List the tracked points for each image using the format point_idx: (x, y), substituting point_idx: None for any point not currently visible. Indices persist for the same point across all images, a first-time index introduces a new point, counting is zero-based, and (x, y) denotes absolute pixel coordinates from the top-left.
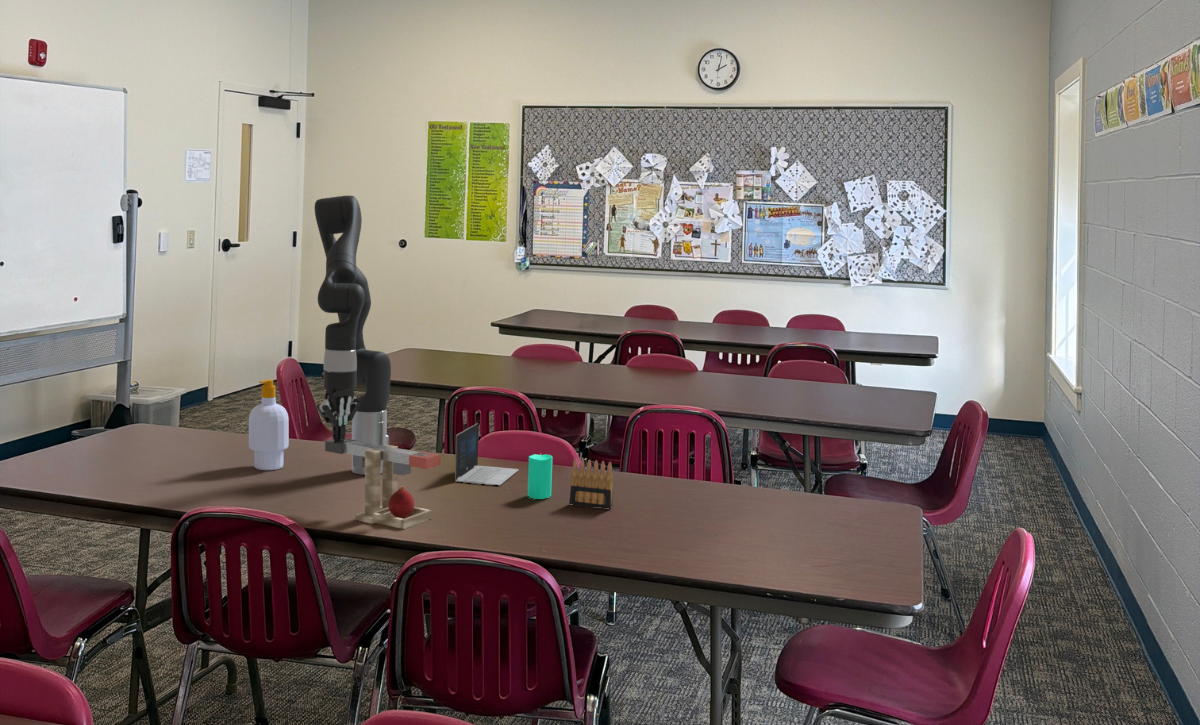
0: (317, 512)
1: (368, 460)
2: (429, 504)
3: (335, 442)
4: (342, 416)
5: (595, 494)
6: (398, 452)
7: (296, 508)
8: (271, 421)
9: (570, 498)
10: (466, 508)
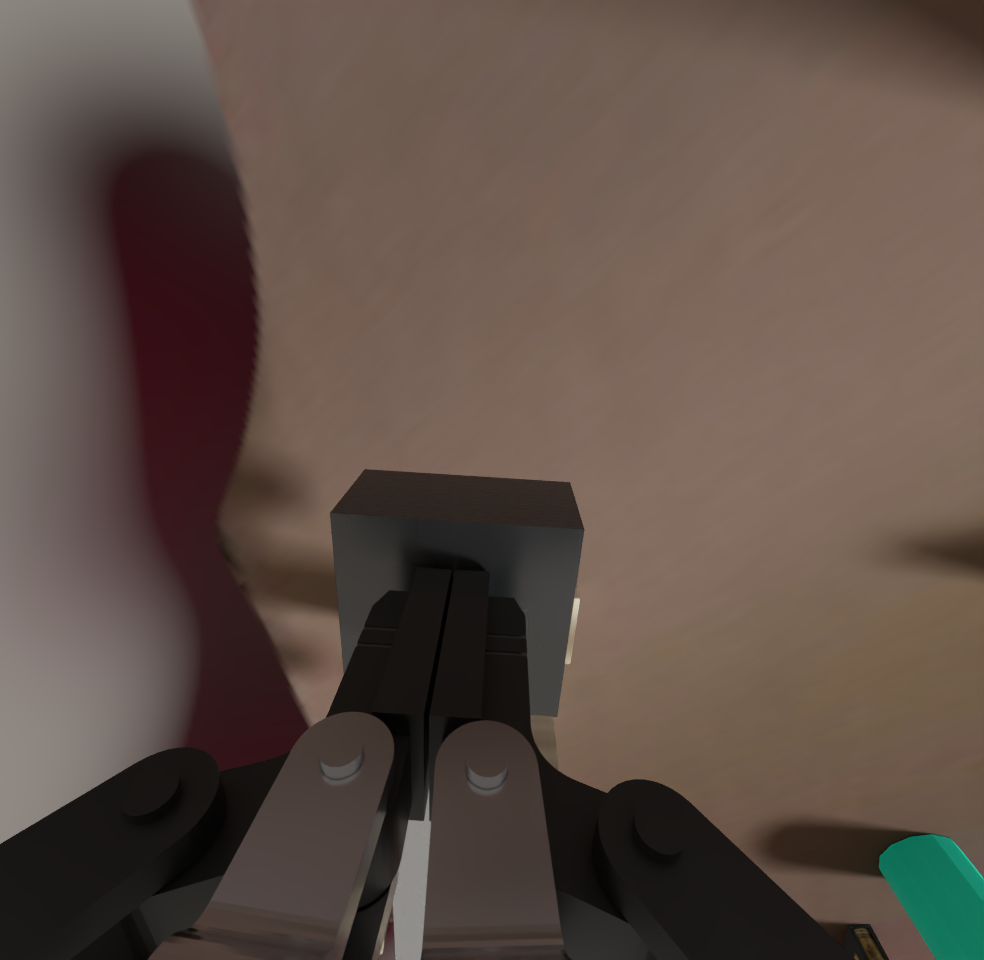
0: (366, 394)
1: None
2: (690, 665)
3: (354, 632)
4: (607, 880)
5: None
6: None
7: (350, 263)
8: None
9: (861, 952)
10: (697, 765)
